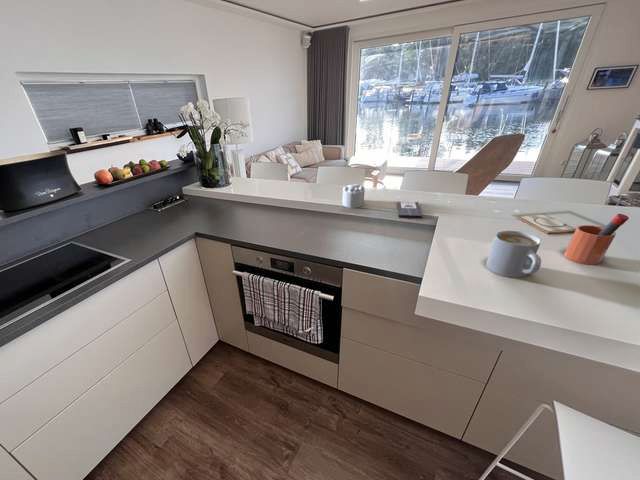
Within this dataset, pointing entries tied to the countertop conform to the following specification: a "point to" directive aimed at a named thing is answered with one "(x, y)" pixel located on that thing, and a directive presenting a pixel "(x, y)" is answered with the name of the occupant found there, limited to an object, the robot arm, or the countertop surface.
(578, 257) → the pen cup
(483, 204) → the countertop surface
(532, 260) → the coffee mug
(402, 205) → the chocolate bar
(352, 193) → the lumpy-topped squat cylinder
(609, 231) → the marker
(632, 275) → the countertop surface
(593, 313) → the countertop surface
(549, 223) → the sketch pad
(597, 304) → the countertop surface
